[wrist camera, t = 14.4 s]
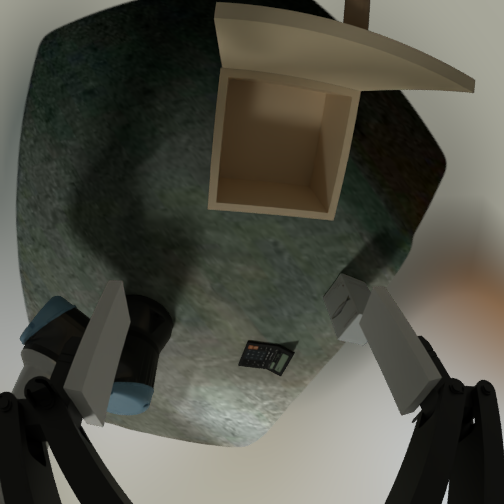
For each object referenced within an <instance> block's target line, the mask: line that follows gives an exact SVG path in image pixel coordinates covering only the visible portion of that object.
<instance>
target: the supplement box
mask: <svg viewBox="0 0 504 504" xmlns="http://www.w3.org/2000/svg"><path fill="white" fill-rule="evenodd" d="M370 294H371V292H370V290H369V288H368V287H367V285H366V283H365V282H363V281H361V280H358V279H356V278H353V277H350V276H348V275H345V274H343V273H340V275H339V276H338V278H337V279H336V281H335V282H334V284H333V285H332V286H331V288H330V289H329V290H328V292H327V293H326V294H325V295H324V297H323V300H324V302H325V305H326V308H327V311H328V313H329V316H330V319H331V322H332V324H333V327H334V330H335V333H336V336H337V339H338V340H341V341H346V342H350V343H355V344H358V345H362V346H364V345H365V344H366V343H367V342H368V341H367V339H366V337H365V335H364V333H363V331H362V329H361V327H360V325H359V322H360V320H361V317H362V315H363V312H364V310H365V307H366V305H367V302H368V300H369V297H370Z"/></svg>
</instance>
